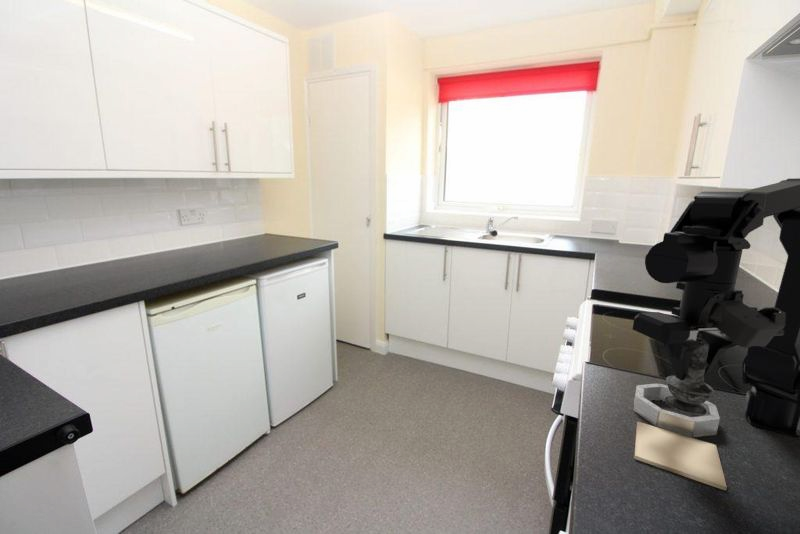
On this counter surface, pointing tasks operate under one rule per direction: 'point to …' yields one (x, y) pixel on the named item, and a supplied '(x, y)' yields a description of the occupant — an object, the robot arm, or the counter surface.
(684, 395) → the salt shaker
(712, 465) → the beige pad
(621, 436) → the counter surface
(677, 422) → the white octagonal ring
